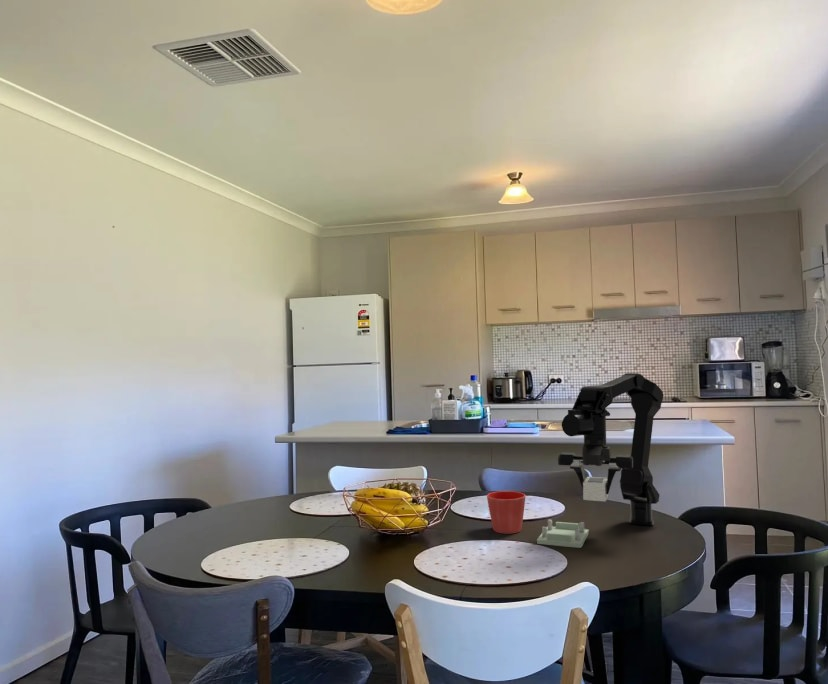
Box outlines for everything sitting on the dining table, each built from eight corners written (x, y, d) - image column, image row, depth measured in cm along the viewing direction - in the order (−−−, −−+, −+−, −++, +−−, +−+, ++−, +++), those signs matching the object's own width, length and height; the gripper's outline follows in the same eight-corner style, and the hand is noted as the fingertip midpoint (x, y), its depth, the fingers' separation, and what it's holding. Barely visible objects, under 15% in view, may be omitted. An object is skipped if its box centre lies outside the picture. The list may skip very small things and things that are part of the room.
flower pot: (481, 532, 169) (480, 497, 170) (495, 523, 179) (494, 489, 179) (519, 537, 164) (518, 500, 165) (531, 527, 174) (530, 492, 174)
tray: (547, 529, 171) (547, 516, 171) (588, 533, 167) (588, 520, 167) (537, 543, 158) (536, 529, 158) (581, 547, 154) (580, 533, 154)
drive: (587, 493, 169) (587, 476, 170) (608, 494, 167) (608, 477, 167) (583, 499, 161) (583, 481, 161) (605, 501, 159) (605, 483, 159)
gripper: (554, 435, 161) (555, 496, 160) (630, 438, 154) (631, 501, 153) (561, 431, 171) (562, 488, 171) (632, 433, 164) (633, 493, 164)
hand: (596, 493), depth 164 cm, fingers closed on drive, 5 cm apart
